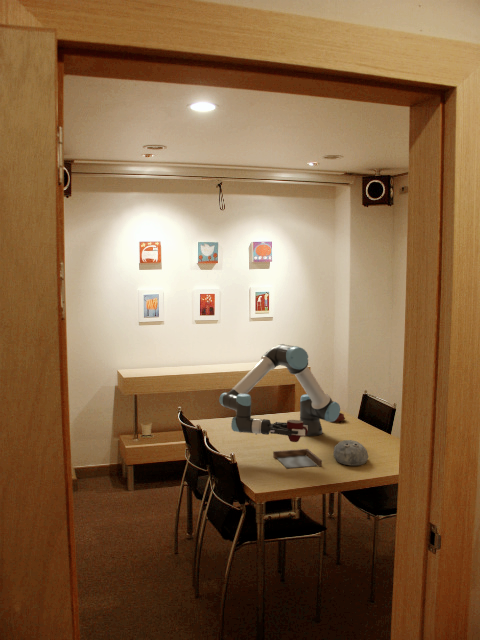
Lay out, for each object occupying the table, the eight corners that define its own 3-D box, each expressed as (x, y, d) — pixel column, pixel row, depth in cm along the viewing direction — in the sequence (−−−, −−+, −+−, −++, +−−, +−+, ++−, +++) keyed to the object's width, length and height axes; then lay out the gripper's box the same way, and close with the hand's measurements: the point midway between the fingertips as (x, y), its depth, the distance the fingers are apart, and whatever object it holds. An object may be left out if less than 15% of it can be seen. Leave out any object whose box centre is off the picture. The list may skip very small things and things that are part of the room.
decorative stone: (367, 455, 289) (368, 436, 288) (369, 469, 268) (369, 449, 267) (333, 453, 292) (334, 434, 291) (332, 466, 272) (333, 446, 271)
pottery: (327, 423, 351) (327, 416, 350) (324, 415, 371) (324, 408, 370) (346, 423, 350) (346, 416, 350) (342, 415, 370) (342, 409, 370)
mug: (303, 439, 281) (304, 419, 281) (309, 443, 273) (310, 423, 273) (283, 439, 279) (285, 419, 279) (288, 443, 271) (289, 423, 271)
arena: (307, 454, 289) (307, 448, 289) (321, 466, 271) (321, 460, 271) (273, 456, 284) (273, 451, 284) (285, 469, 266) (285, 463, 266)
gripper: (266, 428, 291) (309, 432, 285) (256, 439, 271) (302, 443, 265) (266, 414, 290) (309, 418, 284) (257, 424, 270) (303, 428, 264)
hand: (306, 430), depth 274 cm, fingers closed on mug, 8 cm apart
